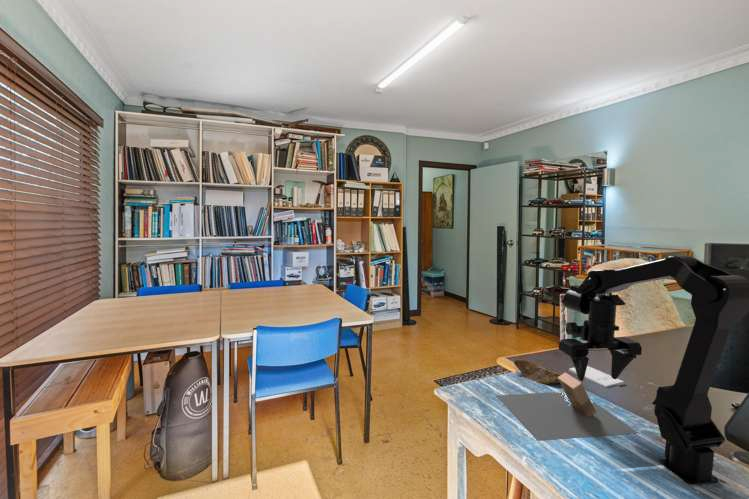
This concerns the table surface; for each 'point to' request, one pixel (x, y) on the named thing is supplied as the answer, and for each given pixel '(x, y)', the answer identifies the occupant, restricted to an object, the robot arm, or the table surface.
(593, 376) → the external hard drive
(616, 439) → the table surface
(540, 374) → the decorative stone
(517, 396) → the rubber mat
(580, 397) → the walnut slab
